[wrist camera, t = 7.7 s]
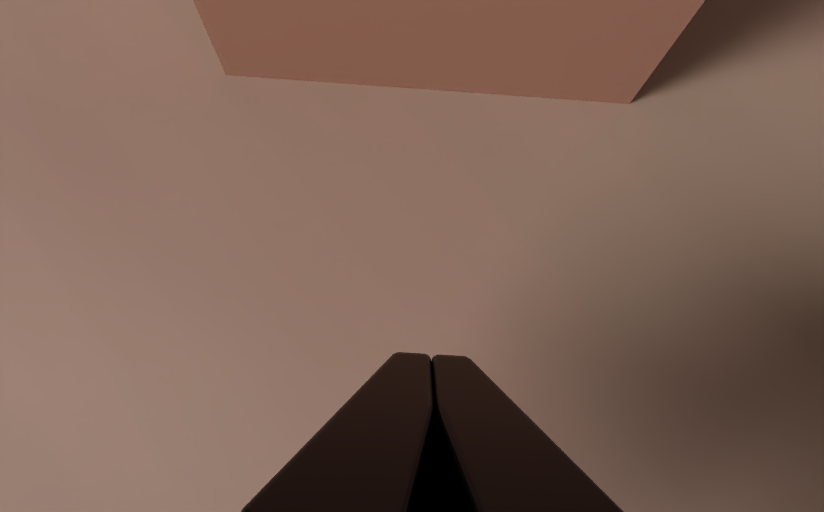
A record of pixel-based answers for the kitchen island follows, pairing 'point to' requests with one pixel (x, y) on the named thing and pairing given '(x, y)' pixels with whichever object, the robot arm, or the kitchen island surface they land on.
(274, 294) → the kitchen island surface
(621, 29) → the terracotta block
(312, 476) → the robot arm
